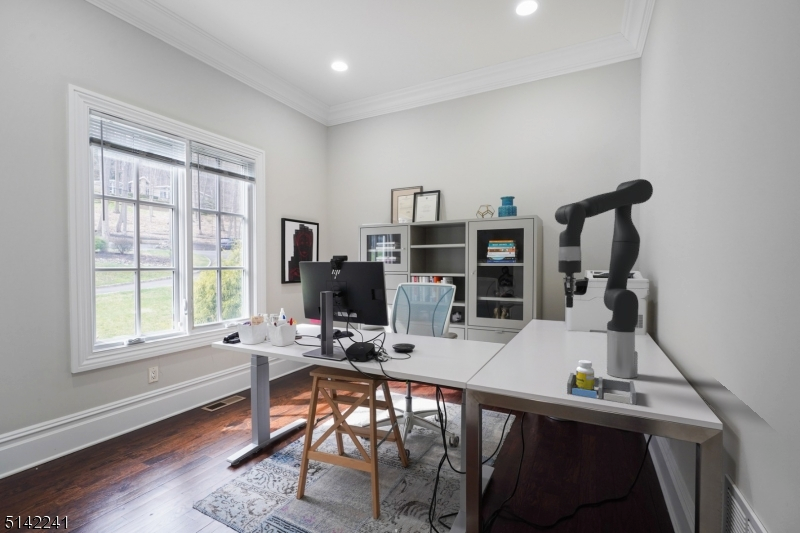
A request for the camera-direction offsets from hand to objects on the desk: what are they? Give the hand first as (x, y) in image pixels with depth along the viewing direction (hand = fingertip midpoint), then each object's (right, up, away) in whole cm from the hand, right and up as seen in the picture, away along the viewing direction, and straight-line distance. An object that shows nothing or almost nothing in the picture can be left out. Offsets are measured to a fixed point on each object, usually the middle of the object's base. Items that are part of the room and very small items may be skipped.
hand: (569, 307), depth 130 cm
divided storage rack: (+5, -27, -11) cm, 30 cm away
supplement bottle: (+1, -27, -9) cm, 29 cm away
